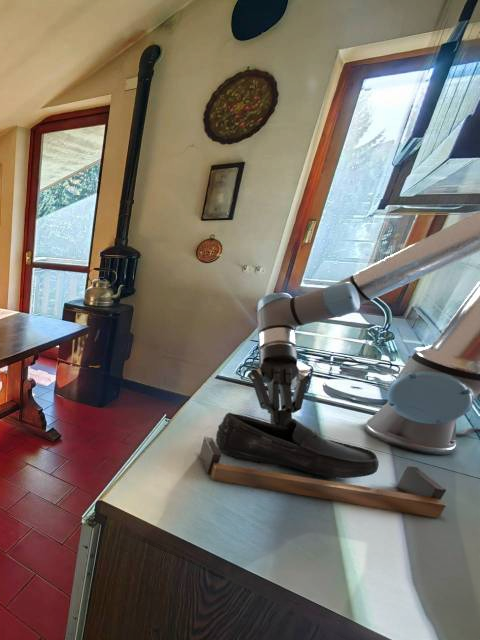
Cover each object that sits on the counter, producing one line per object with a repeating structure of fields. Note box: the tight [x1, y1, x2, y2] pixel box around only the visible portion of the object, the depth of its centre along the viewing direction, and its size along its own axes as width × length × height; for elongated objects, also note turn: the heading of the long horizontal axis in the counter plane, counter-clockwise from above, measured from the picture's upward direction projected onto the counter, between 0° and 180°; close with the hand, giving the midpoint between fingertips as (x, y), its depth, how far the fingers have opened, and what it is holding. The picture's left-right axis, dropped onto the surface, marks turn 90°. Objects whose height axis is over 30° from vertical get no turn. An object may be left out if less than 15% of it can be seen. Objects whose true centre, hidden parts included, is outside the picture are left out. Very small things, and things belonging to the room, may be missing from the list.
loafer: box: [215, 412, 380, 479], centre depth 85 cm, size 10×29×10 cm, turn 71°
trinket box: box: [279, 361, 311, 391], centre depth 127 cm, size 11×11×9 cm
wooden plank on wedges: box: [199, 436, 447, 519], centre depth 79 cm, size 38×10×5 cm, turn 73°
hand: (282, 438), depth 91 cm, fingers closed
